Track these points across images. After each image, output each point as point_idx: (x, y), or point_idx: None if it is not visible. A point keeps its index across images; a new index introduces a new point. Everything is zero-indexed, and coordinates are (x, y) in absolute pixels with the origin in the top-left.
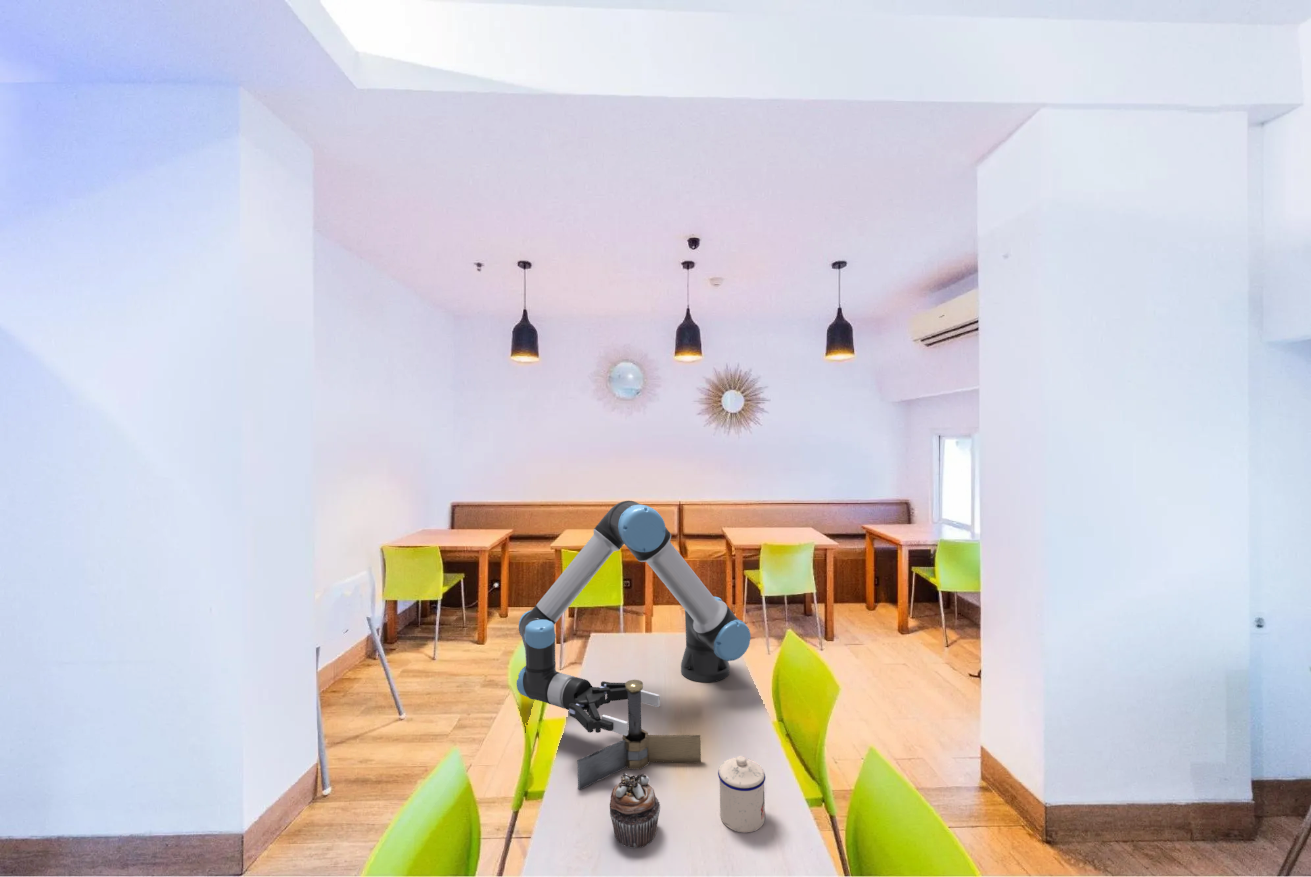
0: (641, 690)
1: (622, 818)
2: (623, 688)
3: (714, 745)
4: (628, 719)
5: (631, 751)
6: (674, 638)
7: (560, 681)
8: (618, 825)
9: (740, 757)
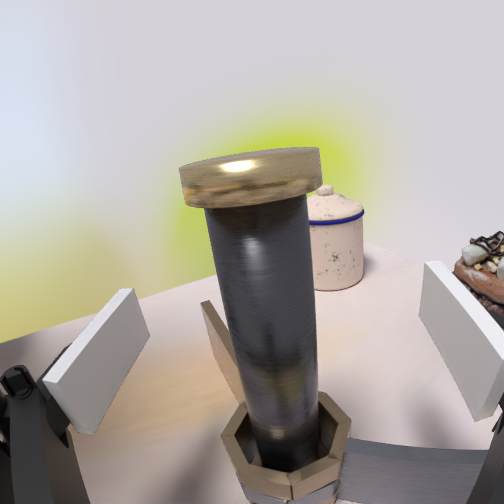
0: (69, 351)
1: None
2: (22, 457)
3: (148, 355)
4: (307, 390)
5: None
6: None
7: None
8: None
9: (323, 186)
